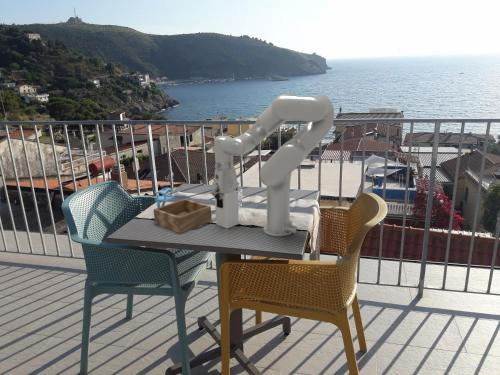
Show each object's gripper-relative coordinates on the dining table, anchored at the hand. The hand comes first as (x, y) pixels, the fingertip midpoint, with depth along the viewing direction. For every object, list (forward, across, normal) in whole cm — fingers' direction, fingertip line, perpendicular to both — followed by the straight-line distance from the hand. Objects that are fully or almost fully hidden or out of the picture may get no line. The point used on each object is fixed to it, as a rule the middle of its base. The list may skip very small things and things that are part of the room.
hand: (226, 204), depth 166 cm
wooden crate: (+9, -10, +18) cm, 23 cm away
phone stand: (+10, -6, +36) cm, 38 cm away
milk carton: (+10, 0, 0) cm, 10 cm away
